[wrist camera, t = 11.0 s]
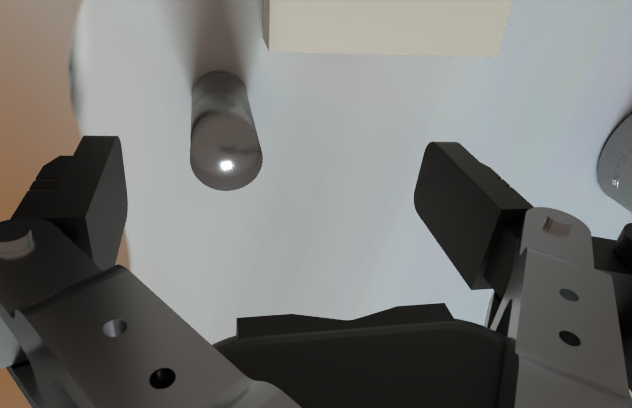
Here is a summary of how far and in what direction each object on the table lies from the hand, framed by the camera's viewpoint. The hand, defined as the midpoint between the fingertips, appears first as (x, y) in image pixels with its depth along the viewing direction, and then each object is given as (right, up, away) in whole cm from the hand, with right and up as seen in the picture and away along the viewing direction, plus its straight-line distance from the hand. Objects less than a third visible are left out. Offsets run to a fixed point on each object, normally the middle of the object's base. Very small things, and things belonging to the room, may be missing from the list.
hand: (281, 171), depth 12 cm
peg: (-5, +5, +15) cm, 17 cm away
